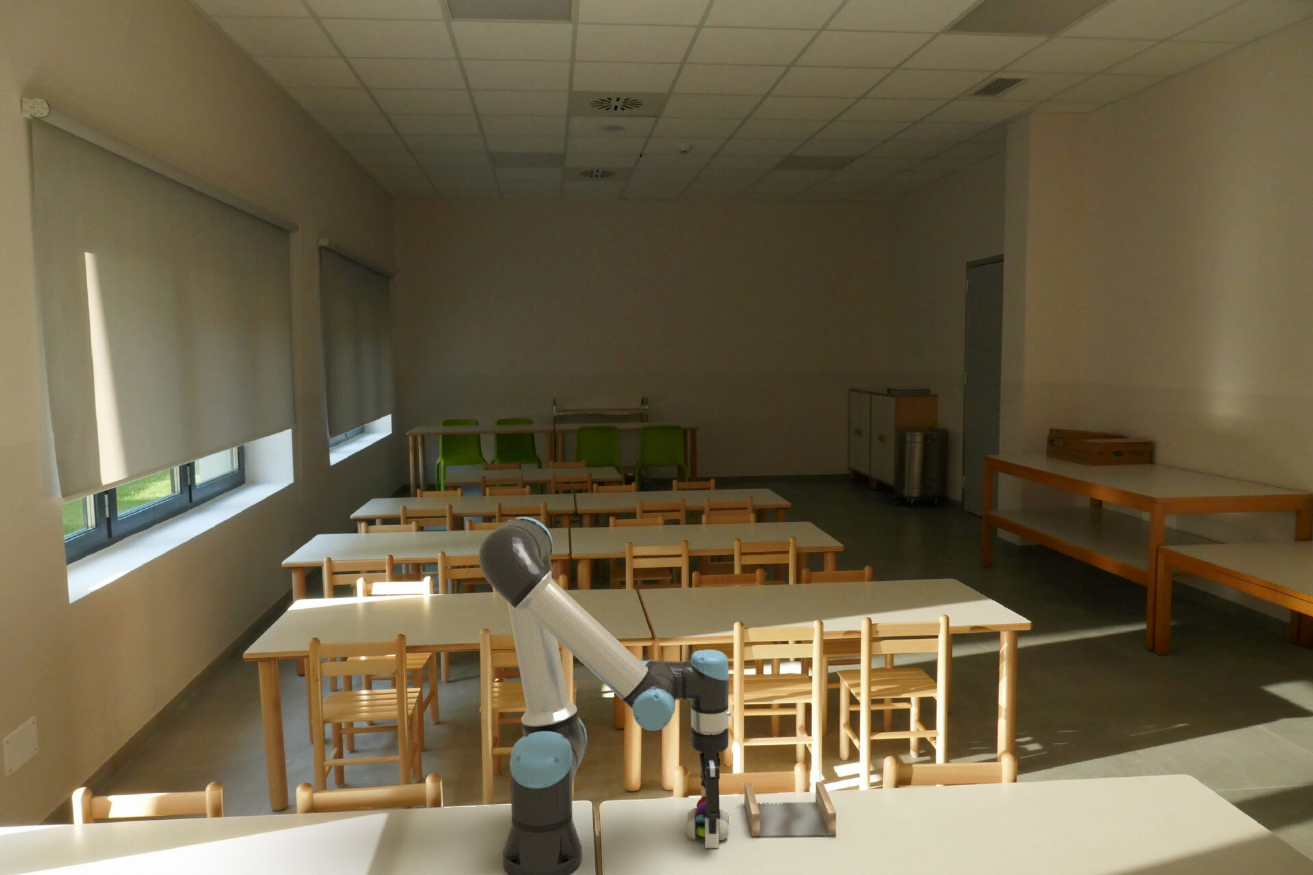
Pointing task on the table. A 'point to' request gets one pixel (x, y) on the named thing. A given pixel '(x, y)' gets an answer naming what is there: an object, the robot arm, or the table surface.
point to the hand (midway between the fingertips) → (709, 831)
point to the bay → (791, 816)
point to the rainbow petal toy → (699, 822)
